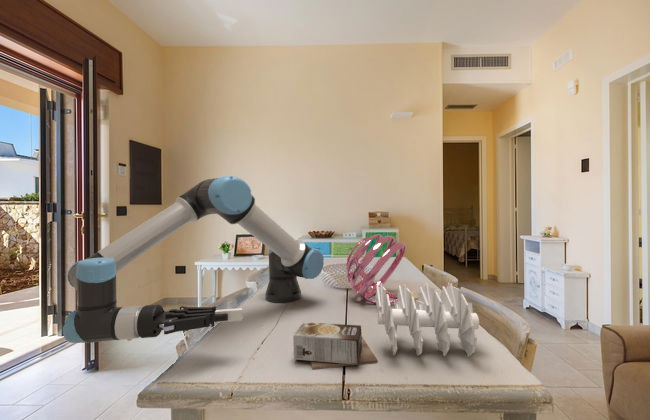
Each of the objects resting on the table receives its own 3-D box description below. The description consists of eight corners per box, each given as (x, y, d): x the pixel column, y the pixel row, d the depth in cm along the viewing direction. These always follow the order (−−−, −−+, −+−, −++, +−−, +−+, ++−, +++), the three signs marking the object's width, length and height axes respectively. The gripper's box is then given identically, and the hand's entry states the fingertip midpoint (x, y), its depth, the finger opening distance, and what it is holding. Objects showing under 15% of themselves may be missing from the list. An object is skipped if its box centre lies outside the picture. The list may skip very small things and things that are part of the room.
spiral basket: (439, 252, 120) (384, 214, 132) (408, 282, 99) (346, 234, 111) (408, 297, 135) (361, 259, 146) (376, 331, 114) (324, 284, 126)
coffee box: (302, 321, 83) (361, 324, 80) (303, 344, 83) (362, 348, 80) (292, 335, 74) (358, 339, 71) (293, 361, 74) (359, 366, 71)
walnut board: (305, 337, 89) (305, 335, 89) (358, 332, 91) (358, 330, 91) (312, 369, 71) (312, 366, 71) (377, 362, 73) (377, 360, 73)
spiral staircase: (481, 376, 74) (378, 370, 75) (458, 321, 90) (373, 316, 91) (501, 321, 66) (385, 315, 67) (471, 271, 82) (378, 267, 83)
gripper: (153, 326, 80) (245, 319, 84) (129, 349, 67) (239, 339, 71) (152, 298, 80) (244, 292, 84) (128, 315, 67) (238, 307, 71)
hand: (242, 314), depth 77 cm, fingers closed
